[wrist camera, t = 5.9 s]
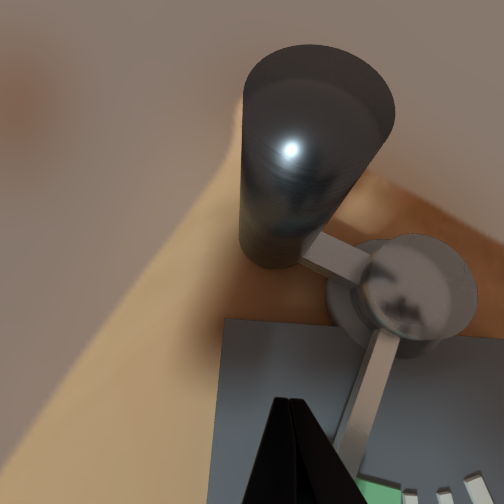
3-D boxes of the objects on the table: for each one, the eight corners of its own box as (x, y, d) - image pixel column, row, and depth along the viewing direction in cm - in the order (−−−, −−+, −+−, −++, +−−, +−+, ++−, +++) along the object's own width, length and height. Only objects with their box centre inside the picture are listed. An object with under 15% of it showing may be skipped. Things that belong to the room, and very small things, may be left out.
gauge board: (560, 668, 11) (597, 703, 10) (193, 652, 11) (188, 687, 10) (480, 254, 17) (498, 247, 16) (233, 233, 16) (233, 224, 15)
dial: (448, 275, 15) (705, 184, 7) (373, 539, 11) (731, 1025, 3) (262, 187, 16) (289, 16, 8) (137, 401, 12) (-51, 497, 4)
